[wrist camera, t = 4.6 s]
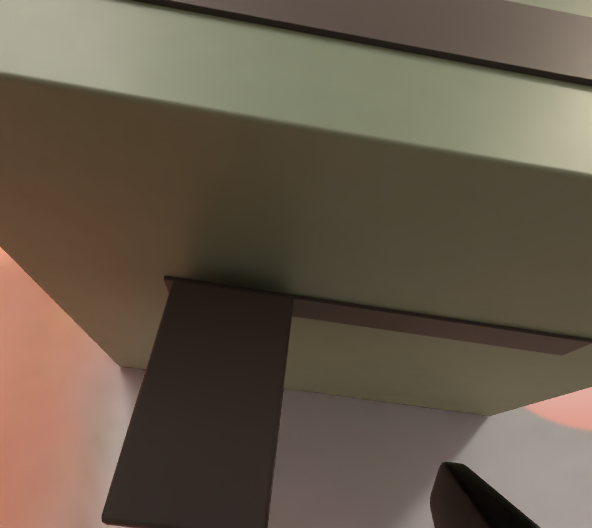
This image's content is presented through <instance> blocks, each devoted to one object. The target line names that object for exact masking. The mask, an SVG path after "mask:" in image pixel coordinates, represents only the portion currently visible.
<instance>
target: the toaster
mask: <svg viewBox="0 0 592 528" xmlns="http://www.w3.org/2000/svg"><path fill="white" fill-rule="evenodd" d="M0 247H1V248H2V249H3V250H4V251H5V252H6V253H7V254H8V255H9V256H10V257H11V258H12V259H13V260H14V261H15V262H16V263H17V264H18V265H19V266H20V267H21V268H22V269H23V270H24V271H25V272H26V273H27V274H28V275H29V276H30V277H31V278H32V279H33V280H34V281H35V282H36V283H37V284H38V285H39V286H40V287H41V288H42V289H43V290H44V291H45V292H46V293H47V294H48V295H49V296H50V297H51V298H52V299H53V300H54V301H55V302H56V303H57V304H58V305H59V306H60V307H61V308H62V309H63V310H64V311H65V312H66V313H67V314H68V315H69V316H70V317H71V318H72V319H73V320H74V321H75V322H76V323H77V324H78V325H79V326H80V327H81V328H82V329H83V330H84V331H85V332H86V333H87V334H88V335H89V336H90V337H91V338H92V339H93V340H94V341H95V342H96V343H97V344H98V345H99V346H100V347H101V348H102V349H103V350H104V351H105V352H106V353H107V354H108V355H109V356H110V357H111V358H112V359H113V360H114V361H115V362H116V363H117V364H118V365H119V366H124V367H131V368H138V369H146V368H147V364H148V361H149V358H150V354H151V351H152V348H153V344H154V341H155V338H156V334H157V331H158V328H159V325H160V321H161V318H162V315H163V311H164V308H165V305H166V301H167V298H168V295H169V292H170V288H171V285H172V283H173V281H174V280H176V279H178V280H185V281H192V282H198V283H205V284H212V285H219V286H225V287H232V288H239V289H246V290H252V291H259V292H266V293H273V294H279V295H286V296H291V297H293V300H294V304H293V312H292V321H291V329H290V338H289V347H288V355H287V364H286V372H285V381H284V388H287V389H294V390H302V391H309V392H316V393H324V394H331V395H339V396H346V397H353V398H361V399H368V400H376V401H383V402H391V403H398V404H405V405H413V406H420V407H428V408H435V409H442V410H450V411H457V412H465V413H472V414H480V415H487V416H491V415H495V414H498V413H502V412H505V411H509V410H512V409H516V408H519V407H523V406H526V405H529V404H533V403H537V402H540V401H544V400H547V399H550V398H554V397H557V396H561V395H565V394H568V393H572V392H575V391H578V390H582V389H585V388H589V387H592V0H0Z"/></svg>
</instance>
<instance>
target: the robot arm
mask: <svg viewBox="0 0 592 528" xmlns="http://www.w3.org/2000/svg"><path fill="white" fill-rule="evenodd" d="M430 508H431V513H432V517H433V522H434V526H435V528H540V527H539V526H538V525H537V524H535V523H534V522H533V521H532V520H531V519H529V518H528V517H527V516H526V515H525V514H523V513H522V512H521V511H520V510H519V509H517V508H516V507H515V506H514V505H513V504H511V503H510V502H509V501H508V500H507V499H505V498H504V497H503V496H502V495H501V494H499V493H498V492H497V491H496V490H495V489H493V488H492V487H491V486H490V485H489V484H487V483H486V482H485V481H484V480H483V479H481V478H480V477H479V476H478V475H477V474H475V473H474V472H473V471H472V470H471V469H469V468H468V467H467V466H466V465H464V464H460V463H452V462H443V463H442V464H441V465H440V467H439V469H438V473H437V476H436V479H435V482H434V486H433V489H432V492H431V496H430Z"/></svg>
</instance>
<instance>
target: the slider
mask: <svg viewBox="0 0 592 528" xmlns="http://www.w3.org/2000/svg"><path fill="white" fill-rule="evenodd" d="M293 304H294V300H293V297H291V296H286V295H279V294H273V293H266V292H259V291H252V290H246V289H239V288H232V287H225V286H219V285H212V284H205V283H198V282H192V281H185V280H178V279H176V280H174V281H173V283H172V285H171V288H170V292H169V295H168V298H167V301H166V305H165V308H164V311H163V315H162V318H161V321H160V325H159V328H158V331H157V334H156V338H155V341H154V344H153V348H152V351H151V354H150V358H149V361H148V364H147V368H146V371H145V374H144V377H143V381H142V384H141V387H140V391H139V394H138V397H137V401H136V404H135V407H134V410H133V414H132V417H131V420H130V424H129V427H128V430H127V434H126V437H125V440H124V443H123V447H122V450H121V453H120V457H119V460H118V463H117V467H116V470H115V473H114V476H113V480H112V483H111V486H110V490H109V493H108V496H107V500H106V503H105V506H104V509H103V513H102V522H103V523H105V524H107V525H116V526H125V527H134V528H267V527H268V519H269V510H270V501H271V493H272V484H273V476H274V467H275V458H276V450H277V441H278V433H279V424H280V415H281V407H282V398H283V390H284V381H285V372H286V364H287V355H288V347H289V338H290V329H291V321H292V312H293Z"/></svg>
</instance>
